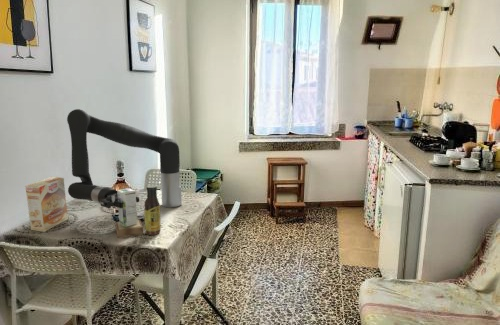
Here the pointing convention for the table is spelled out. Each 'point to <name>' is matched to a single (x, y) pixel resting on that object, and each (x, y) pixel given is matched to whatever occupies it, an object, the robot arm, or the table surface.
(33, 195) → the coffeecake box
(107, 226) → the table surface
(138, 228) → the pedestal
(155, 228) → the sauce bottle
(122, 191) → the syrup box
